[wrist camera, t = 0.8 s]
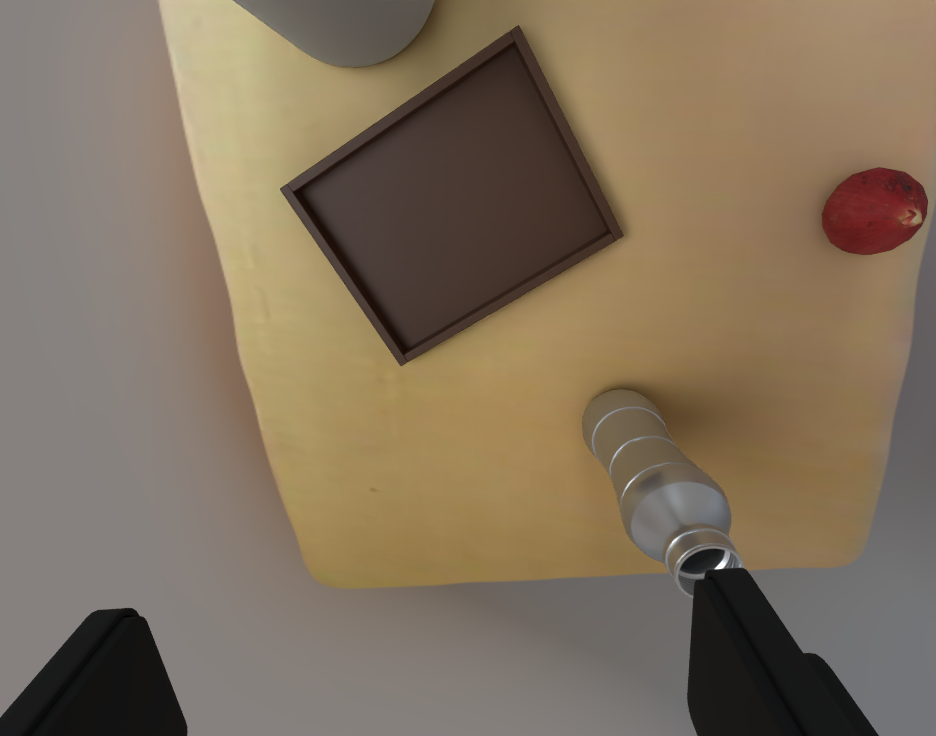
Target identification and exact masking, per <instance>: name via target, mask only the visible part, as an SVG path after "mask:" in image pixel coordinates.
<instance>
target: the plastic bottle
mask: <svg viewBox="0 0 936 736" xmlns="http://www.w3.org/2000/svg"><path fill="white" fill-rule="evenodd" d="M582 427H583V437H584V440H585V443H586V445H587V446H588V448H589V450H590V451H591V452H592V453H593V455H594V456H595V457H596V458H597V459H598V460H599V461H600V462H601V463H602V465H603V466H604V468H605V469H606V471H607V472H608V474H609V475H610V478H611V481H612V483H613V486H614V489H615V491H616V495H617V500H618V504H619V509H620V514H621V518H622V521H623V525H624V527H625V530H626V533H627V535H628V536H629V538H630V540H631V541H632V542H633V543H634V544H635V545H636V546H637V547H638V548H639V549H640V550H641V551H642V552H643V553H645V554H646V555H648V556H649V557H651V558H653V559H655V560H658V561H660V562H663V563H664V564H665V566H666V568H667V570H668V571H669V573H670V574H671V575H672V576H673V578H674V580H675V582H676V584H677V586H678V587H679V588H680V590H681V591H682V592H683V593H685V594H686V595H687V596H689V597H691V598H693V596H694V584H695V581H696V580H703V579H704V575H705V572H706V571H707V570H711V569H726V568H741V567H742V568H744V569H745V567H744V563H743V560H742V558H741V556H740V555H739V553H738V552H737V551H736V549H735V545H734V544H733V542H732V540H731V539H730V537H729V536H728V534H729V531H730V527H731V512H730V507H729V503H728V500H727V497H726V495H725V493H724V491H723V490H722V488H721V487H720V486H719V485H718V484H717V483H716V482H715V481H714V480H713V479H712V478H711V477H710V476H709V475H708V474H707V473H705V472H704V471H703V470H702V469H701V468H699V467H698V466H697V465H696V464H694V463H693V462H692V461H691V460H690V459H688V458H687V456H686V455H685V454H684V453H683V452H682V451H681V450H680V449H679V448H678V447H677V445H676V444H675V443H674V441H673V440H672V438H671V436H670V434H669V433H668V431H667V428H666V424H665V421H664V419H663V417H662V415H661V413H660V411H659V409H658V408H657V407H656V406H655V404H654V403H652V402H651V401H650V400H648V399H647V398H646V397H644V396H642V395H641V394H639V393H637V392H634V391H631V390H625V389H618V390H611V391H608V392H605V393H603V394H601V395H599V396H598V397H596V398H595V399H594V400H593V401H592V402H591V403H590V404H589V405H588V407H587V408H586V410H585V412H584V415H583V420H582Z"/></svg>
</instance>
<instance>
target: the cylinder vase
mask: <svg viewBox="0 0 936 736" xmlns="http://www.w3.org/2000/svg"><path fill="white" fill-rule="evenodd" d="M233 1H234V2H236V3H237V4H239V5H240V6H241V7H243V8H244V9H245V10H247V11H248V12H250V13H251V14H252V15H254V16H255V17H256V18H258V19H259V20H261V21H262V22H263V23H265V24H266V25H267V26H269V27H270V28H271V29H273V30H274V31H276V32H277V33H278V34H280V35H281V36H282V37H284V38H285V39H287V40H288V41H289V42H291V43H292V44H293V45H295V46H296V47H298V48H299V49H300V50H302V51H303V52H305V53H306V54H308V55H310V56H311V57H313V58H315V59H317V60H320V61H322V62H325V63H328V64H331V65H335V66H341V67H365V66H370V65H374V64H377V63H380V62H383V61H385V60H387V59H389V58H391V57H393V56H394V55H396V54H397V53H399V52H400V51H402V50H403V49H404V48H405V47H406V46H407V45H408V44H409V43H410V42H411V41H412V40H413V39H414V38H415V37H416V36H417V34H418V33H419V32H420V30H421V29H422V27H423V26H424V24H425V22H426V21H427V19H428V17H429V15H430V12H431V10H432V8H433V5H434V2H435V0H233Z"/></svg>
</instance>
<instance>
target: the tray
mask: <svg viewBox="0 0 936 736" xmlns="http://www.w3.org/2000/svg"><path fill="white" fill-rule="evenodd" d="M280 190H281V192H282V193H283V195H284V196H285V198H286V199H287V200H288V202H289V203H290V205H291V206H292V208H293V209H294V211H295V212H296V214H297V215H298V217H299V218H300V219H301V221H302V222H303V224H304V225H305V227H306V228H307V230H308V231H309V233H310V234H311V236H312V237H313V239H314V240H315V241H316V243H317V244H318V246H319V247H320V249H321V250H322V252H323V253H324V255H325V256H326V258H327V259H328V260H329V262H330V263H331V265H332V266H333V268H334V269H335V271H336V272H337V274H338V275H339V277H340V278H341V279H342V281H343V282H344V284H345V285H346V287H347V288H348V290H349V291H350V293H351V294H352V296H353V297H354V299H355V300H356V301H357V303H358V304H359V306H360V307H361V309H362V310H363V312H364V313H365V315H366V316H367V318H368V319H369V320H370V322H371V323H372V325H373V326H374V328H375V329H376V331H377V332H378V334H379V335H380V337H381V338H382V340H383V341H384V342H385V344H386V345H387V347H388V348H389V350H390V351H391V353H392V354H393V356H394V357H395V359H396V360H397V361H398V363H399V364H400V366H402V365H404V364H406V363H407V362H409V361H411V360H412V359H414V358H416V357H417V356H419V355H421V354H423V353H424V352H426V351H428V350H429V349H431V348H433V347H435V346H436V345H438V344H440V343H441V342H443V341H445V340H447V339H448V338H450V337H452V336H453V335H455V334H457V333H459V332H460V331H462V330H464V329H465V328H467V327H469V326H471V325H472V324H474V323H476V322H477V321H479V320H481V319H483V318H484V317H486V316H488V315H489V314H491V313H493V312H495V311H496V310H498V309H500V308H501V307H503V306H505V305H507V304H508V303H510V302H512V301H513V300H515V299H517V298H519V297H520V296H522V295H524V294H525V293H527V292H529V291H531V290H532V289H534V288H536V287H537V286H539V285H541V284H543V283H544V282H546V281H548V280H549V279H551V278H553V277H555V276H556V275H558V274H560V273H562V272H563V271H565V270H567V269H568V268H570V267H572V266H574V265H575V264H577V263H579V262H580V261H582V260H584V259H586V258H587V257H589V256H591V255H592V254H594V253H596V252H598V251H599V250H601V249H603V248H604V247H606V246H608V245H610V244H611V243H613V242H615V241H617V240H618V239H620V238H622V237H623V236H624V235H623V233H622V231H621V229H620V227H619V225H618V223H617V221H616V219H615V217H614V215H613V213H612V211H611V209H610V207H609V205H608V203H607V201H606V199H605V197H604V195H603V193H602V191H601V189H600V187H599V185H598V183H597V181H596V179H595V177H594V175H593V173H592V171H591V169H590V167H589V165H588V163H587V161H586V159H585V157H584V155H583V153H582V151H581V149H580V147H579V145H578V143H577V141H576V139H575V137H574V135H573V133H572V131H571V129H570V127H569V125H568V123H567V121H566V119H565V116H564V114H563V112H562V110H561V108H560V106H559V104H558V102H557V100H556V98H555V96H554V94H553V92H552V90H551V88H550V86H549V84H548V82H547V80H546V78H545V76H544V74H543V72H542V70H541V68H540V66H539V64H538V62H537V60H536V58H535V56H534V54H533V52H532V50H531V48H530V46H529V44H528V42H527V40H526V38H525V36H524V34H523V32H522V30H521V28H520V26H519V25H518V26H516V27H515V28H513V29H512V30H510V31H509V32H508V33H506V34H505V35H503V36H502V37H500V38H499V39H497V40H496V41H494V42H493V43H491V44H490V45H489V46H487V47H486V48H484V49H483V50H481V51H480V52H478V53H477V54H475V55H474V56H473V57H471V58H470V59H468V60H467V61H465V62H464V63H462V64H461V65H459V66H458V67H457V68H455V69H454V70H452V71H451V72H449V73H448V74H446V75H445V76H443V77H442V78H441V79H439V80H438V81H436V82H435V83H433V84H432V85H430V86H429V87H427V88H426V89H424V90H423V91H422V92H420V93H419V94H417V95H416V96H414V97H413V98H411V99H410V100H408V101H407V102H406V103H404V104H403V105H401V106H400V107H398V108H397V109H395V110H394V111H392V112H391V113H390V114H388V115H387V116H385V117H384V118H382V119H381V120H379V121H378V122H376V123H375V124H373V125H372V126H371V127H369V128H368V129H366V130H365V131H363V132H362V133H360V134H359V135H357V136H356V137H355V138H353V139H352V140H350V141H349V142H347V143H346V144H344V145H343V146H341V147H340V148H339V149H337V150H336V151H334V152H333V153H331V154H330V155H328V156H327V157H325V158H324V159H323V160H321V161H320V162H318V163H317V164H315V165H314V166H312V167H311V168H309V169H308V170H306V171H305V172H304V173H302V174H301V175H299V176H298V177H296V178H295V179H293V180H292V181H290V182H289V183H288V184H286V185H285V186H283V187H282V188H280Z"/></svg>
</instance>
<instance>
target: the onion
mask: <svg viewBox="0 0 936 736" xmlns="http://www.w3.org/2000/svg"><path fill="white" fill-rule="evenodd" d="M927 206H928V199H927V196H926V193H925V191H924V188H923V186H922V185H921V184H920V183H919V182H917V181H916V180H915V179H914V178H912V177H911V176H910V175H908V174H907V173H906V172H902V171H897V170H892V169H886V168H880V167H879V168H874V169H870V170H867V171H863V172H860V173H856V174H853V175H851V176H850V177H849V178H847V179H846V180H845V181H844V182H842V183H841V184H840V185H838V186H837V188H836V189H835V190H834V192H833V193H832V194H831V196H830V197H829V199H828V200H827V201H826V204H825V207H824V210H823V213H822V226H823V229H824V231H825V233H826V235H827V237H828V239H829V241H830V242H831V243H832V244H834V245H835V246H837V247H838V248H840V249H841V250H843V251H846V252H849V253H854V254H861V255H872V254H876V253H881V252H885V251H889V250H893V249H894V248H896V247H897V246H899V245H901V244H902V243H904V242H906V241H908V240H909V239H911V237H912V236H913V235H914V234H915V233H916V232H917V231H918V230H919V229H920V227H921V226H922V224H923V222H924V220H925V218H926V215H927Z"/></svg>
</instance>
